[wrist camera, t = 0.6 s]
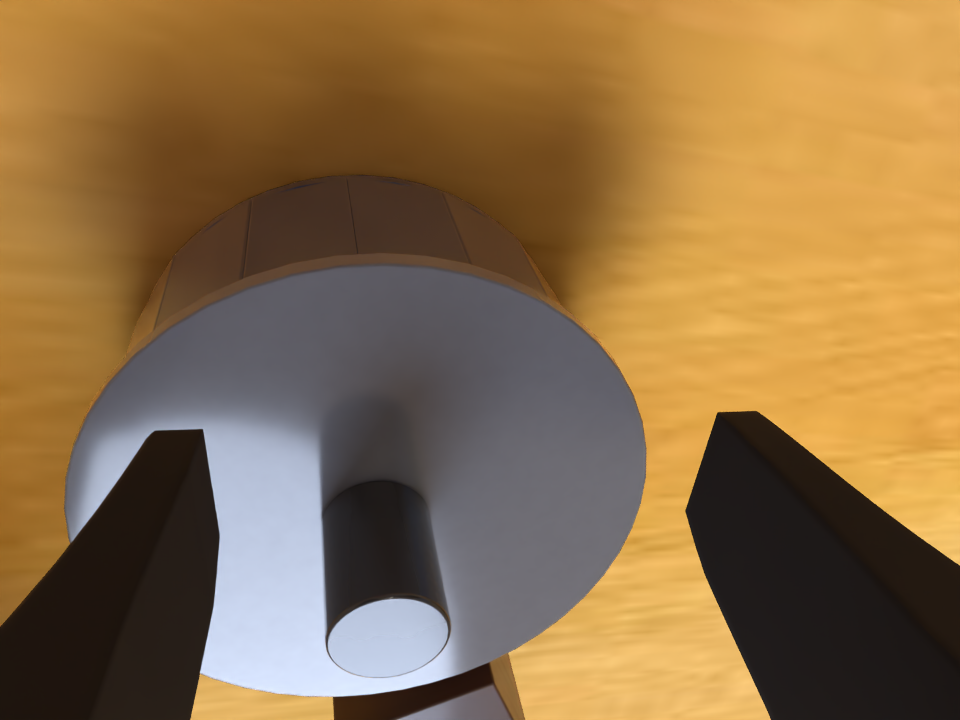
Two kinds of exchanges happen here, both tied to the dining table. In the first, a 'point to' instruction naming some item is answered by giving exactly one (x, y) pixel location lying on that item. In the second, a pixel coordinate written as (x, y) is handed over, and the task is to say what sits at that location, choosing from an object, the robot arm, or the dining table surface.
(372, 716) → the walnut block
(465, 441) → the pot lid
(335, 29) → the dining table surface
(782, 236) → the dining table surface
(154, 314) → the grey open cylinder
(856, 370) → the dining table surface
